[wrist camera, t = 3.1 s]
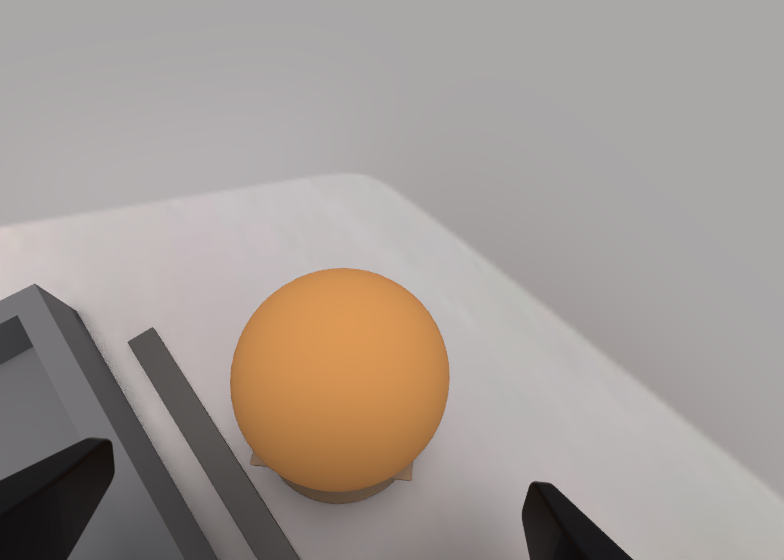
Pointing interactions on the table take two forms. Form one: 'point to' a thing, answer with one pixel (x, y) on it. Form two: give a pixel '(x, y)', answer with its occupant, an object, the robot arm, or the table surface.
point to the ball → (339, 380)
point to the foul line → (212, 450)
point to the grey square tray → (86, 431)
